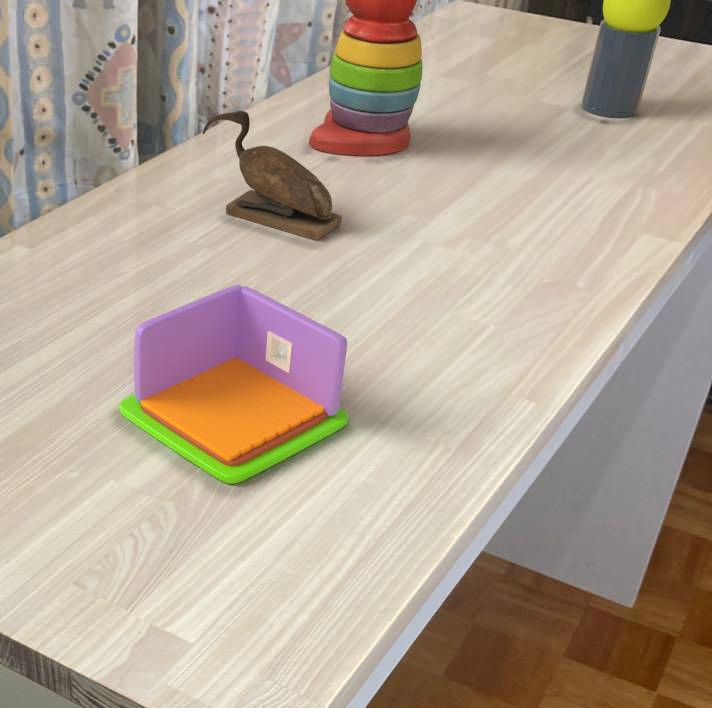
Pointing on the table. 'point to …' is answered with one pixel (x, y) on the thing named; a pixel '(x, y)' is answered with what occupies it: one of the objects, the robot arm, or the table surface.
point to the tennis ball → (635, 14)
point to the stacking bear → (372, 80)
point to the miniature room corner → (236, 382)
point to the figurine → (279, 189)
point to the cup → (618, 71)
